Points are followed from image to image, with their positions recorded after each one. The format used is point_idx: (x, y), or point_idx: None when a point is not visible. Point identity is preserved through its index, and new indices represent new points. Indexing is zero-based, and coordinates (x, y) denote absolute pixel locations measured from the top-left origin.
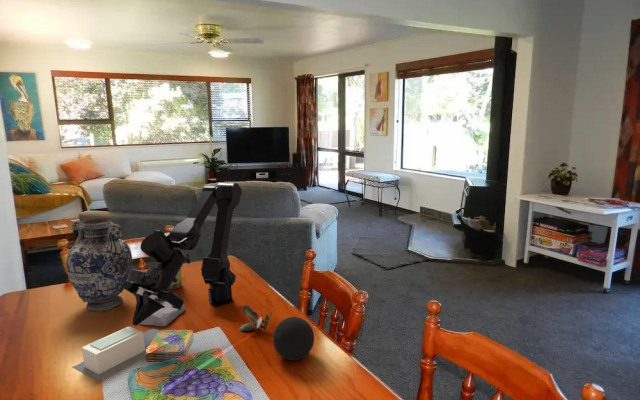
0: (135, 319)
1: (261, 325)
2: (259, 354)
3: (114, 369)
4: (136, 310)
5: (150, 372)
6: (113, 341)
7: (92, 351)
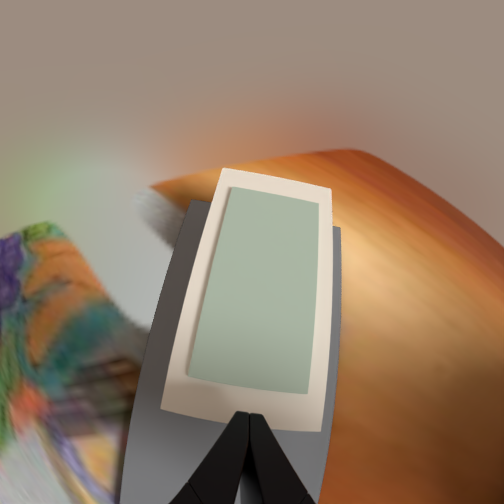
0: (240, 434)
1: None
2: None
3: (191, 256)
4: (284, 492)
5: (78, 298)
6: (235, 252)
7: (259, 177)
